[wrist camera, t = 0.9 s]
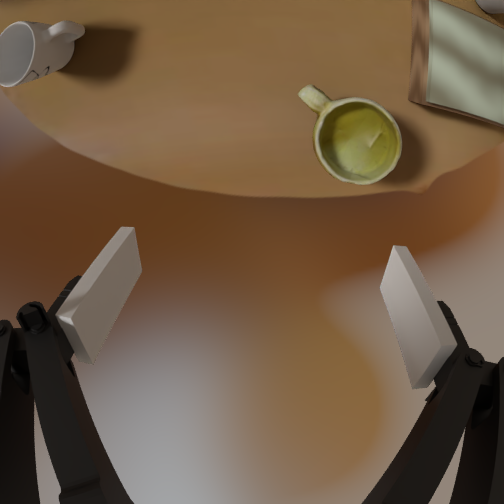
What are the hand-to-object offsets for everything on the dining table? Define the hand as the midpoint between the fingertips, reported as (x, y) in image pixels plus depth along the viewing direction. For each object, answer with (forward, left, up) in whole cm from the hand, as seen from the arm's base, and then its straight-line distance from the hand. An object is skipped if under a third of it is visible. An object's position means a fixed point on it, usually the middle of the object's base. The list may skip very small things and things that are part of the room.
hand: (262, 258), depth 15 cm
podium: (-14, +24, -26) cm, 38 cm away
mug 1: (-16, -28, -26) cm, 41 cm away
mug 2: (-3, +8, -26) cm, 27 cm away
